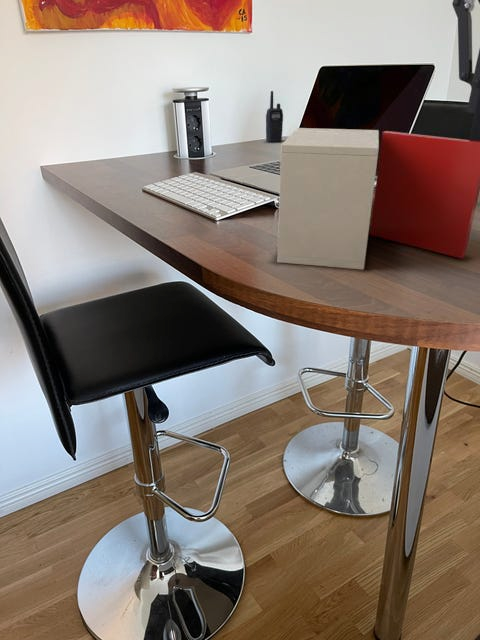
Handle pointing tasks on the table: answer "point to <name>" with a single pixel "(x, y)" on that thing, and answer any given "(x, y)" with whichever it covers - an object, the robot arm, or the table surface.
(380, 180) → the cupboard door
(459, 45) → the robot arm
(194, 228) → the table surface
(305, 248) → the cupboard
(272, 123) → the two-way radio
